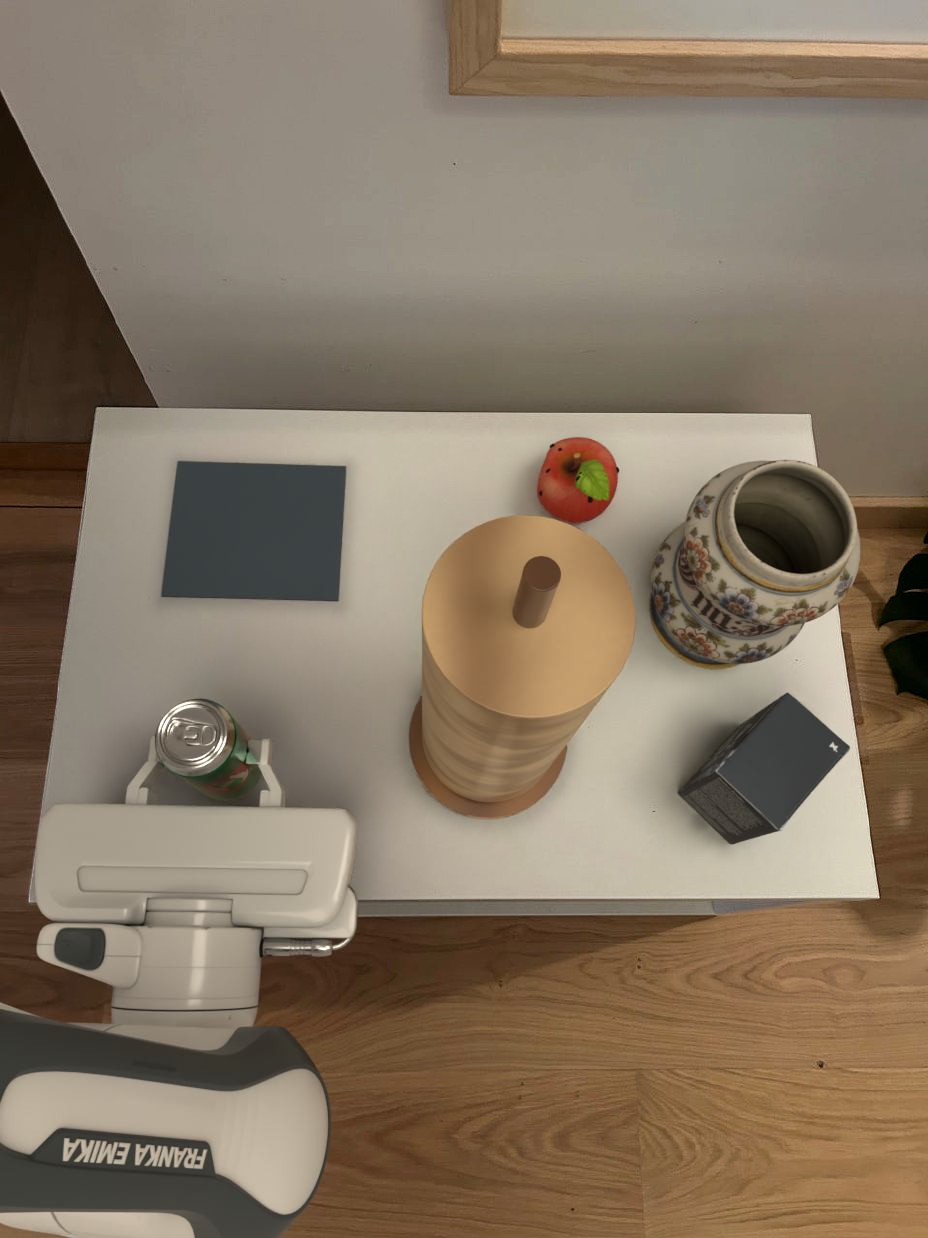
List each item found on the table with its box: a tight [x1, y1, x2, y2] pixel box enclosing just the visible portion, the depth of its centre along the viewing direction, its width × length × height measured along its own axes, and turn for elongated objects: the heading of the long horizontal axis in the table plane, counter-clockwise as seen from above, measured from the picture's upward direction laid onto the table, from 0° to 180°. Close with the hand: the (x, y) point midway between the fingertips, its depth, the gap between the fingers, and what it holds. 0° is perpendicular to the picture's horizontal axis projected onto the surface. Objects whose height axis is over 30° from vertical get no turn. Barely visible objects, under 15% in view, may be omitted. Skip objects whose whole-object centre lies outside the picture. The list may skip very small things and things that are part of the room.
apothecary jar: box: [649, 459, 861, 670], centre depth 68 cm, size 12×12×18 cm
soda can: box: [154, 698, 262, 802], centre depth 64 cm, size 5×5×12 cm
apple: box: [536, 436, 620, 524], centre depth 74 cm, size 8×7×10 cm
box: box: [677, 692, 851, 846], centre depth 67 cm, size 8×6×11 cm
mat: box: [160, 460, 347, 602], centre depth 77 cm, size 14×12×1 cm
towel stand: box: [408, 514, 637, 820], centre depth 56 cm, size 12×12×35 cm
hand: (212, 739), depth 64 cm, fingers closed on soda can, 5 cm apart
